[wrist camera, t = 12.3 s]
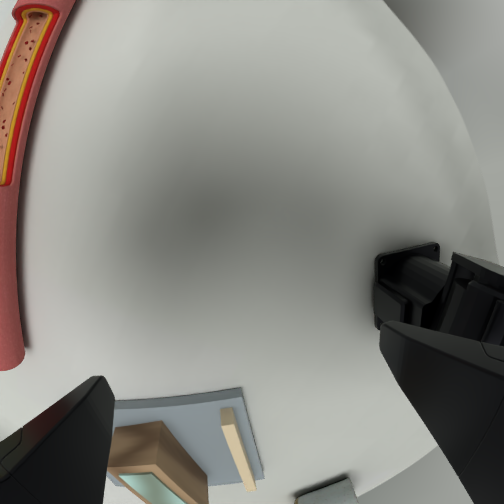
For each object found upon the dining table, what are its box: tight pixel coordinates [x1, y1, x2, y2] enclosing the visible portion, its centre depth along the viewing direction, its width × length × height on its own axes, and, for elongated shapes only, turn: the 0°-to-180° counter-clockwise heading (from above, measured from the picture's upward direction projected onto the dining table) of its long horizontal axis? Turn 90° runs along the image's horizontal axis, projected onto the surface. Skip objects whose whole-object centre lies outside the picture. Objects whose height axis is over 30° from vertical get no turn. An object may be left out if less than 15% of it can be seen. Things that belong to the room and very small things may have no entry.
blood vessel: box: [0, 0, 76, 371], centre depth 13 cm, size 42×5×5 cm, turn 167°
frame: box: [107, 420, 209, 504], centre depth 20 cm, size 5×10×5 cm, turn 18°
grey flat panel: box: [106, 388, 265, 492], centre depth 22 cm, size 18×14×3 cm
